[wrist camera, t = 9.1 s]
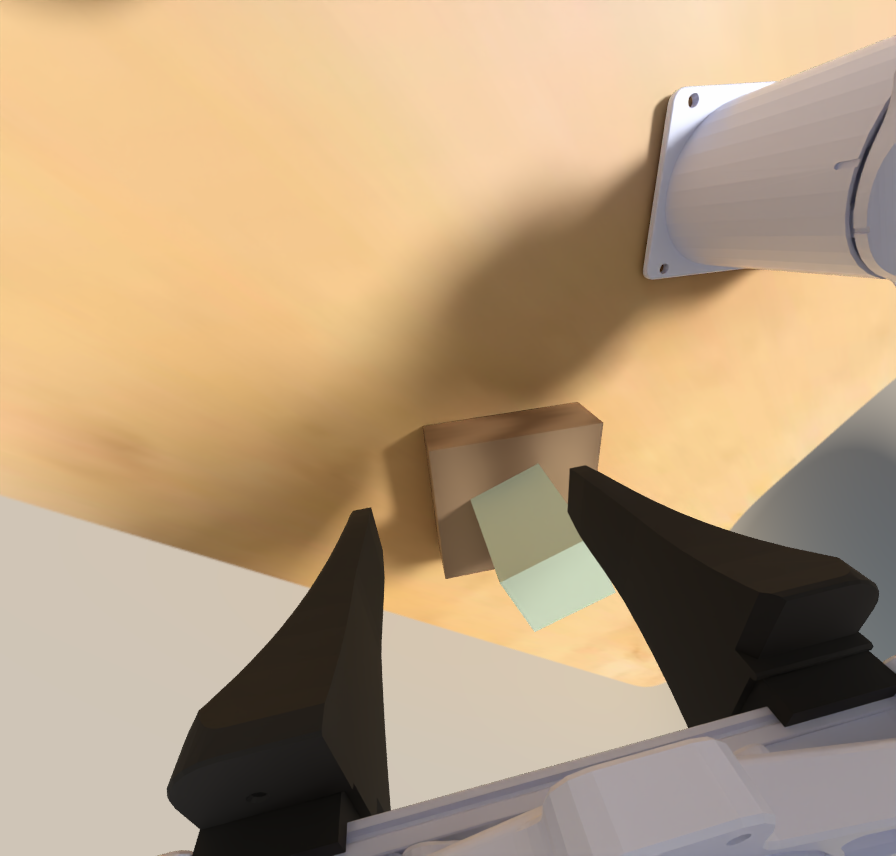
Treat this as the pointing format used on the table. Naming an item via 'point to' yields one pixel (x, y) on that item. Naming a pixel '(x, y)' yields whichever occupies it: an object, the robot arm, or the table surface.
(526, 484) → the sage block
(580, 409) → the walnut base
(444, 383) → the table surface
